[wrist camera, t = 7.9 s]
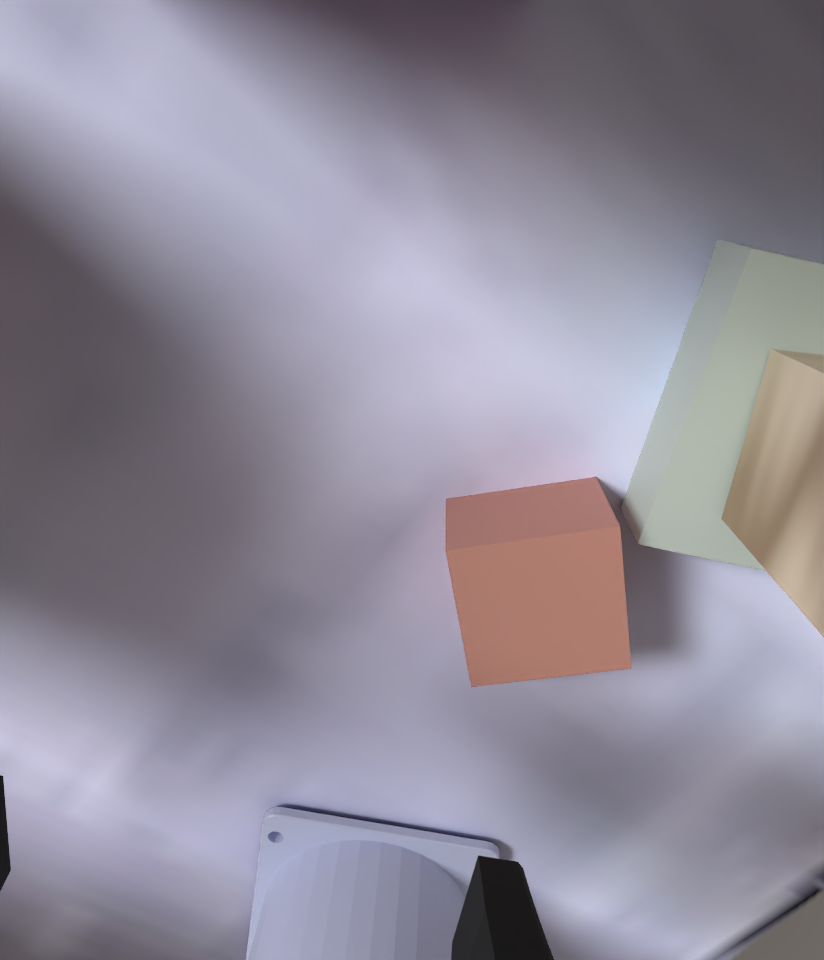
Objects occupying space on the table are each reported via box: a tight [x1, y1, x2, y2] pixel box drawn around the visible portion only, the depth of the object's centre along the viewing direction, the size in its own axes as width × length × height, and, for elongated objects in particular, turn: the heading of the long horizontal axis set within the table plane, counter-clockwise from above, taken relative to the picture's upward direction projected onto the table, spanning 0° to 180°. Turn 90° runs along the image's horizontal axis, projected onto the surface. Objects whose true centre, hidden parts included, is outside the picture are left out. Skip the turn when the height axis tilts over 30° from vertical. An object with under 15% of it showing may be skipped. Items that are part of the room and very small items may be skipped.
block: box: [446, 477, 631, 687], centre depth 18 cm, size 4×4×3 cm
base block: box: [621, 239, 824, 571], centre depth 17 cm, size 7×7×2 cm
